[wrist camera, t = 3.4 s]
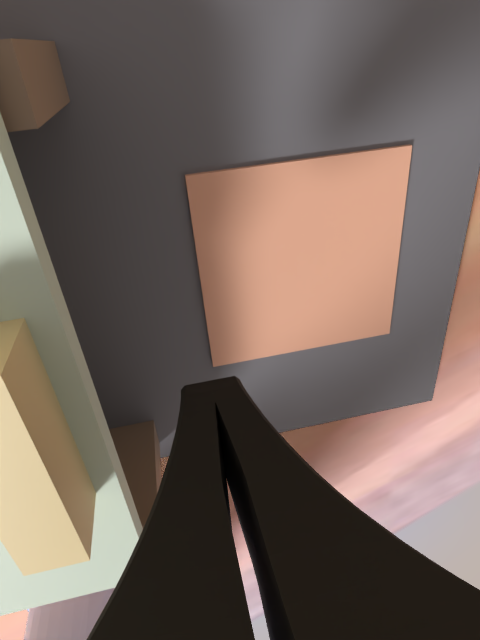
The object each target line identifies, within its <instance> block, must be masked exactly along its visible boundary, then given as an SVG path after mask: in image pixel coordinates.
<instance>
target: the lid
mask: <svg viewBox="0 0 480 640" xmlns="http://www.w3.org/2000/svg"><path fill="white" fill-rule="evenodd" d="M142 530H143V527H142V524H141V522H140V519H139V516H138V513H137V510H136V507H135V504H134V501H133V498H132V495H131V492H130V489H129V486H128V484H127V481H126V478H125V475H124V472H123V469H122V466H121V463H120V460H119V457H118V454H117V451H116V449H115V446H114V443H113V440H112V437H111V434H110V431H109V428H108V425H107V422H106V419H105V416H104V413H103V411H102V408H101V405H100V402H99V399H98V396H97V393H96V390H95V387H94V384H93V381H92V378H91V376H90V373H89V370H88V367H87V364H86V361H85V358H84V355H83V352H82V349H81V346H80V343H79V340H78V338H77V335H76V332H75V329H74V326H73V323H72V320H71V317H70V314H69V311H68V308H67V305H66V303H65V300H64V297H63V294H62V291H61V288H60V285H59V282H58V279H57V276H56V273H55V270H54V267H53V265H52V262H51V259H50V256H49V253H48V250H47V247H46V244H45V241H44V238H43V235H42V232H41V230H40V227H39V224H38V221H37V218H36V215H35V212H34V209H33V206H32V203H31V200H30V197H29V194H28V192H27V189H26V186H25V183H24V180H23V177H22V174H21V171H20V168H19V165H18V162H17V159H16V157H15V154H14V151H13V148H12V145H11V142H10V139H9V136H8V133H7V130H6V127H5V124H4V121H3V119H2V116H1V113H0V616H1V615H5V614H9V613H14V612H18V611H22V610H26V609H30V608H34V607H38V606H42V605H46V604H50V603H54V602H58V601H62V600H67V599H71V598H75V597H79V596H83V595H87V594H91V593H95V592H99V591H103V590H107V589H111V588H115V587H116V585H117V583H118V581H119V579H120V577H121V575H122V573H123V571H124V569H125V567H126V565H127V563H128V561H129V559H130V557H131V555H132V552H133V550H134V548H135V546H136V544H137V542H138V540H139V537H140V535H141V533H142Z"/></svg>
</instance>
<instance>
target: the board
mask: <svg viewBox="0 0 480 640" xmlns="http://www.w3.org/2000/svg"><path fill="white" fill-rule="evenodd" d="M0 113H1V116H2V119H3V121H4V124H5V127H6V130H7V133H8V136H9V139H10V142H11V145H12V148H13V151H14V154H15V157H16V159H17V162H18V165H19V168H20V171H21V174H22V177H23V180H24V183H25V186H26V189H27V192H28V194H29V197H30V200H31V203H32V206H33V209H34V212H35V215H36V218H37V221H38V224H39V227H40V230H41V232H42V235H43V238H44V241H45V244H46V247H47V250H48V253H49V256H50V259H51V262H52V265H53V267H54V270H55V273H56V276H57V279H58V282H59V285H60V288H61V291H62V294H63V297H64V300H65V303H66V305H67V308H68V311H69V314H70V317H71V320H72V323H73V326H74V329H75V332H76V335H77V338H78V340H79V343H80V346H81V349H82V352H83V355H84V358H85V361H86V364H87V367H88V370H89V373H90V376H91V378H92V381H93V384H94V387H95V390H96V393H97V396H98V399H99V402H100V405H101V408H102V411H103V413H104V416H105V419H106V422H107V425H108V428H109V431H110V434H111V437H112V440H113V443H114V446H115V449H116V451H117V454H118V457H119V460H120V463H121V466H122V469H123V472H124V475H125V478H126V481H127V484H128V486H129V489H130V492H131V495H132V498H133V501H134V504H135V507H136V510H137V513H138V516H139V519H140V522H141V524H142V527H143V528H144V526H145V523H146V521H147V518H148V516H149V514H150V511H151V509H152V506H153V503H154V501H155V498H156V495H157V493H158V490H159V487H160V484H161V481H162V477H161V460H160V458H163V457H168V456H169V455H170V452H171V448H172V444H173V440H174V436H175V432H176V427H177V422H178V417H179V411H180V402H181V389H182V388H183V387H184V386H185V385H189V384H195V383H200V382H205V381H210V380H215V379H221V378H226V377H231V376H236V377H237V378H239V379H240V381H241V383H242V385H243V386H244V388H245V389H246V391H247V393H248V394H249V396H250V397H251V398H252V400H253V401H254V403H255V404H256V405H257V407H258V408H259V409H260V411H261V412H262V413H263V414H264V416H265V417H266V418H267V419H268V421H269V422H270V423H271V424H272V425H273V427H274V428H275V429H276V430H277V431H278V432H279V433H280V432H285V431H290V430H295V429H299V428H304V427H309V426H313V425H318V424H323V423H327V422H332V421H337V420H342V419H346V418H351V417H356V416H360V415H365V414H370V413H375V412H379V411H384V410H389V409H393V408H398V407H403V406H407V405H412V404H417V403H422V402H426V401H431V400H432V398H433V393H434V388H435V383H436V379H437V374H438V369H439V364H440V359H441V354H442V349H443V344H444V339H445V335H446V330H447V325H448V320H449V315H450V310H451V305H452V300H453V295H454V291H455V286H456V281H457V276H458V271H459V266H460V261H461V256H462V251H463V247H464V242H465V237H466V232H467V227H468V222H469V217H470V212H471V207H472V203H473V198H474V193H475V188H476V183H477V178H478V173H479V168H480V0H0Z"/></svg>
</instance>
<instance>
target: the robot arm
mask: <svg viewBox="0 0 480 640" xmlns="http://www.w3.org/2000/svg"><path fill="white" fill-rule="evenodd" d="M226 478H227V479H226ZM227 482H228V485H229V488H230V492H231V495H232V498H233V501H234V505H235V508H236V511H237V514H238V518H239V521H240V524H241V528H242V531H243V534H244V537H245V541H246V544H247V547H248V550H249V554H250V557H251V560H252V563H253V567H254V571H255V574H256V578H257V582H258V586H259V591H260V595H261V600H262V604H263V609H264V614H265V618H266V623H267V627H268V632H269V637H270V640H480V590H479V589H477V588H475V587H474V586H472V585H470V584H469V583H467V582H465V581H464V580H462V579H460V578H458V577H457V576H455V575H454V574H452V573H451V572H449V571H447V570H446V569H444V568H443V567H441V566H439V565H438V564H436V563H435V562H433V561H431V560H430V559H428V558H427V557H426V556H424V555H423V554H421V553H420V552H418V551H417V550H415V549H414V548H412V547H410V546H409V545H408V544H406V543H405V542H403V541H402V540H400V539H399V538H398V537H396V536H395V535H394V534H392V533H391V532H390V531H388V530H387V529H385V528H384V527H383V526H381V525H380V524H379V523H377V522H376V521H375V520H373V519H372V518H371V517H369V516H368V515H367V514H365V513H364V512H363V511H361V510H360V509H359V508H357V507H356V506H355V505H354V504H353V503H351V502H350V501H349V500H348V499H347V498H345V497H344V496H343V495H342V494H341V493H339V492H338V491H337V490H336V489H335V488H334V487H332V486H331V485H330V484H329V483H328V482H327V481H326V480H325V479H323V478H322V477H321V476H320V475H319V474H318V473H317V472H316V471H315V470H314V469H313V468H312V467H311V466H310V465H309V464H308V463H307V462H306V461H305V460H304V459H303V458H302V457H301V456H300V455H299V454H298V453H297V452H296V451H295V450H294V449H293V448H292V447H291V446H290V445H289V444H288V443H287V441H286V440H285V439H284V438H283V437H282V436H281V435H280V434H279V432H278V431H277V430H276V429H275V428H274V427H273V425H272V424H271V423H270V422H269V421H268V419H267V418H266V417H265V416H264V414H263V413H262V412H261V411H260V409H259V408H258V407H257V405H256V404H255V403H254V401H253V400H252V398H251V397H250V396H249V394H248V393H247V391H246V389H245V388H244V386H243V385H242V383H241V381H240V379H239V378H237V377H236V376H231V377H226V378H221V379H215V380H210V381H205V382H200V383H195V384H189V385H185V386H184V387H183V388H182V389H181V402H180V411H179V417H178V422H177V427H176V432H175V436H174V440H173V444H172V448H171V452H170V455H169V459H168V462H167V465H166V468H165V471H164V474H163V478H162V481H161V484H160V487H159V490H158V493H157V495H156V498H155V501H154V503H153V506H152V509H151V511H150V514H149V516H148V518H147V521H146V523H145V526H144V528H143V530H142V533H141V535H140V537H139V540H138V542H137V544H136V546H135V548H134V550H133V552H132V555H131V557H130V559H129V561H128V563H127V565H126V567H125V569H124V571H123V573H122V575H121V577H120V579H119V581H118V583H117V585H116V587H115V588H111V589H107V590H103V591H99V592H95V593H91V594H87V595H83V596H79V597H75V598H71V599H67V600H62V601H58V602H54V603H50V604H46V605H42V606H38V607H34V608H30V609H27V611H28V612H29V613H28V619H27V624H26V629H25V635H24V640H255V638H254V633H253V629H252V624H251V619H250V615H249V610H248V605H247V601H246V596H245V591H244V586H243V582H242V577H241V572H240V568H239V563H238V558H237V553H236V548H235V544H234V539H233V534H232V526H231V517H230V507H229V498H228V488H227Z"/></svg>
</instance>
